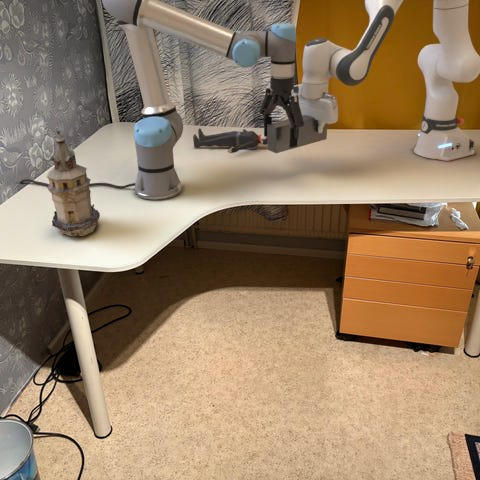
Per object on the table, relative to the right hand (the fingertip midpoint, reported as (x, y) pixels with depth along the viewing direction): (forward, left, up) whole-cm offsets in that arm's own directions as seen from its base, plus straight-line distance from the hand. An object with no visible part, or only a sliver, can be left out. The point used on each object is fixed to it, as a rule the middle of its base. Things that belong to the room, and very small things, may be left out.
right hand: (313, 130), depth 186 cm
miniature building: (+82, +20, -15) cm, 86 cm away
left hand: (+14, +4, -1) cm, 15 cm away
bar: (+7, +2, -4) cm, 8 cm away
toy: (+20, -32, -15) cm, 41 cm away
